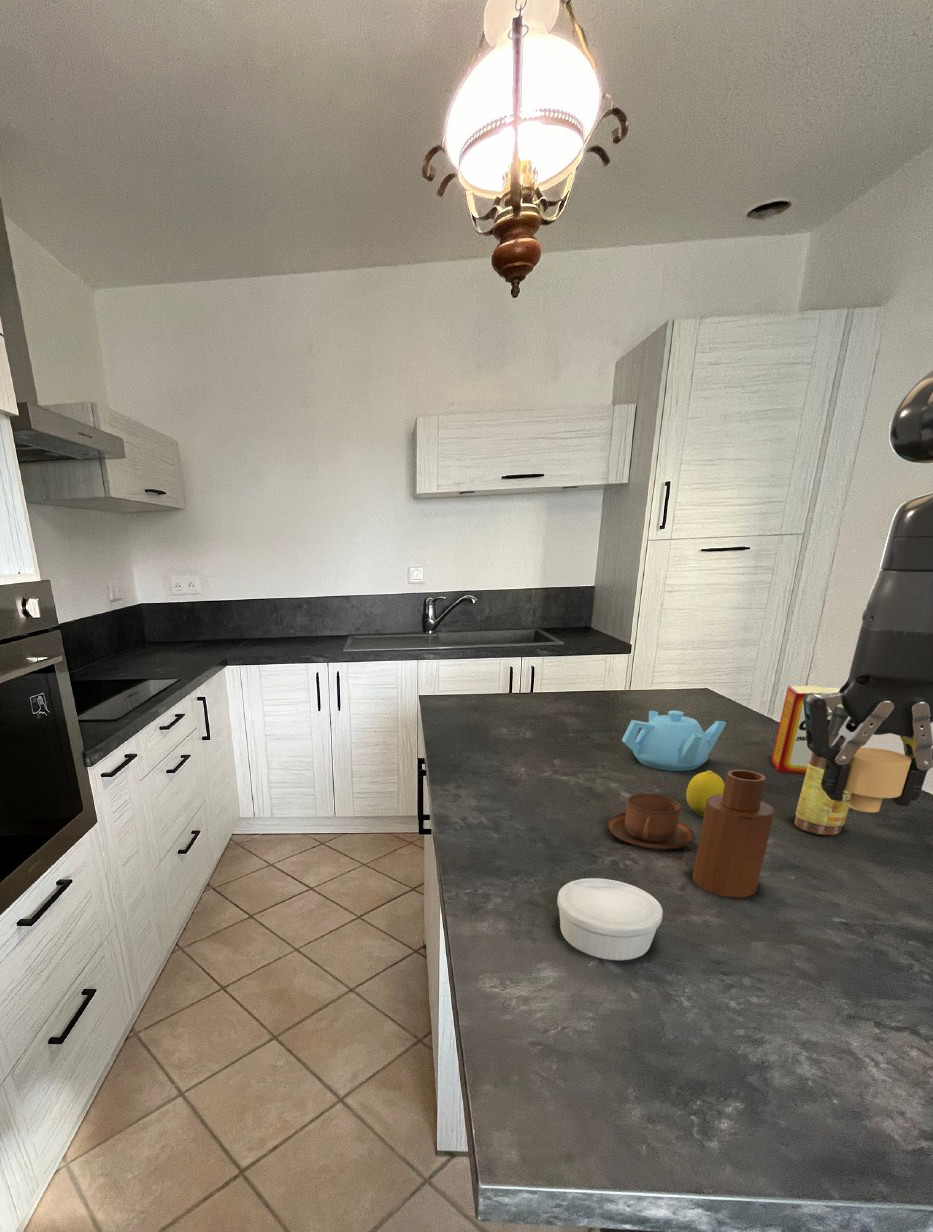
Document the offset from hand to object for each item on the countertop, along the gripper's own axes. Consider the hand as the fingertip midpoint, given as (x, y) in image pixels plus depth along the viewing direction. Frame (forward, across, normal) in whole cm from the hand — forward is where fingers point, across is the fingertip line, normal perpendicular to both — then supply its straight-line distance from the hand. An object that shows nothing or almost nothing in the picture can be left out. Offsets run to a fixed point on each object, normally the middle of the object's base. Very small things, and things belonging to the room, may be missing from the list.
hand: (866, 799), depth 61 cm
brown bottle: (+19, -7, +14) cm, 25 cm away
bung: (+1, 0, 0) cm, 1 cm away
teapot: (+19, -8, +67) cm, 70 cm away
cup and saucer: (+19, -15, +27) cm, 36 cm away
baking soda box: (+20, +16, +69) cm, 73 cm away
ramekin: (+19, -22, -3) cm, 29 cm away
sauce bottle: (+19, +10, +38) cm, 44 cm away
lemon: (+19, -6, +39) cm, 44 cm away
